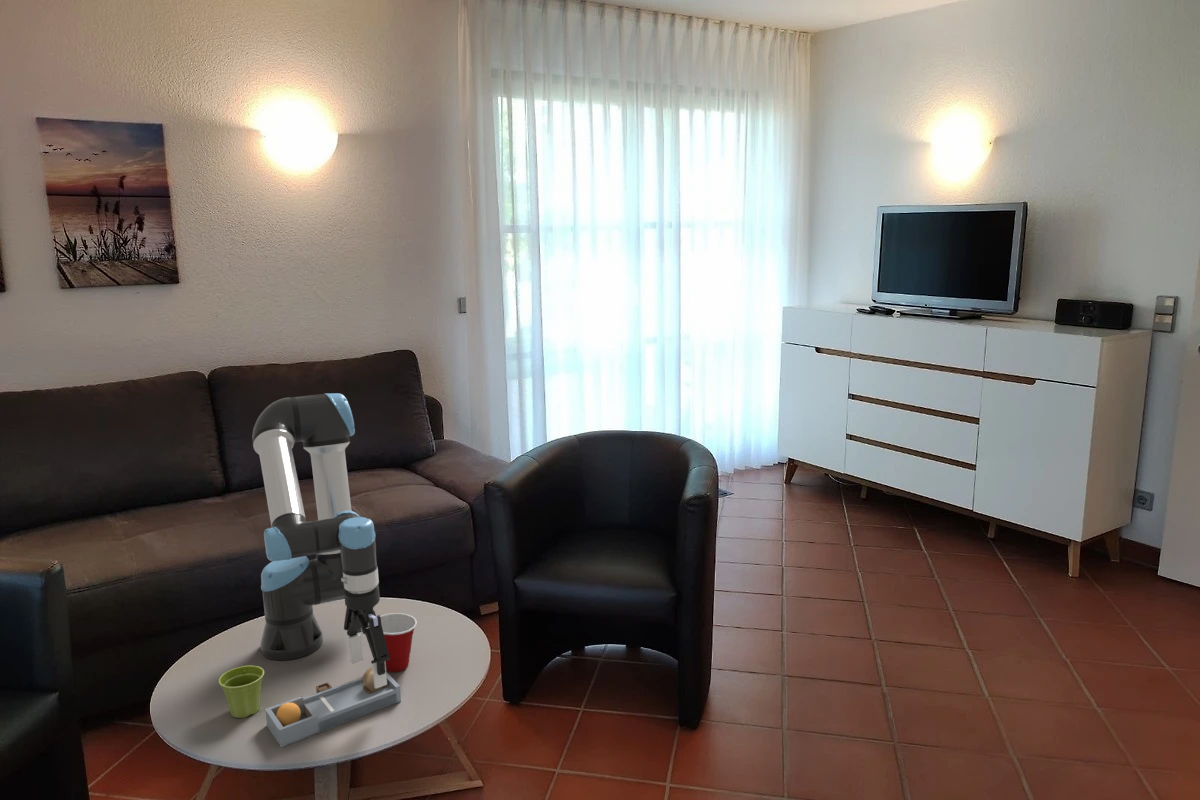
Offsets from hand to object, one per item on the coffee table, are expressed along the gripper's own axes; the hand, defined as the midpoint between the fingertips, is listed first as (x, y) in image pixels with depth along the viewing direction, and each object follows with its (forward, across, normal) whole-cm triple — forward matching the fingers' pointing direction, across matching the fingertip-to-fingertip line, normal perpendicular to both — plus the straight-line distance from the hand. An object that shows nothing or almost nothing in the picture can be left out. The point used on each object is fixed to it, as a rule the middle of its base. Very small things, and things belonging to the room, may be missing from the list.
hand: (368, 673), depth 190 cm
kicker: (+4, 0, +1) cm, 4 cm away
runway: (+7, 0, -8) cm, 11 cm away
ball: (+4, -2, -18) cm, 18 cm away
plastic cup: (+7, -10, +11) cm, 17 cm away
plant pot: (+7, -14, -24) cm, 28 cm away
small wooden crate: (+7, -8, -8) cm, 13 cm away
